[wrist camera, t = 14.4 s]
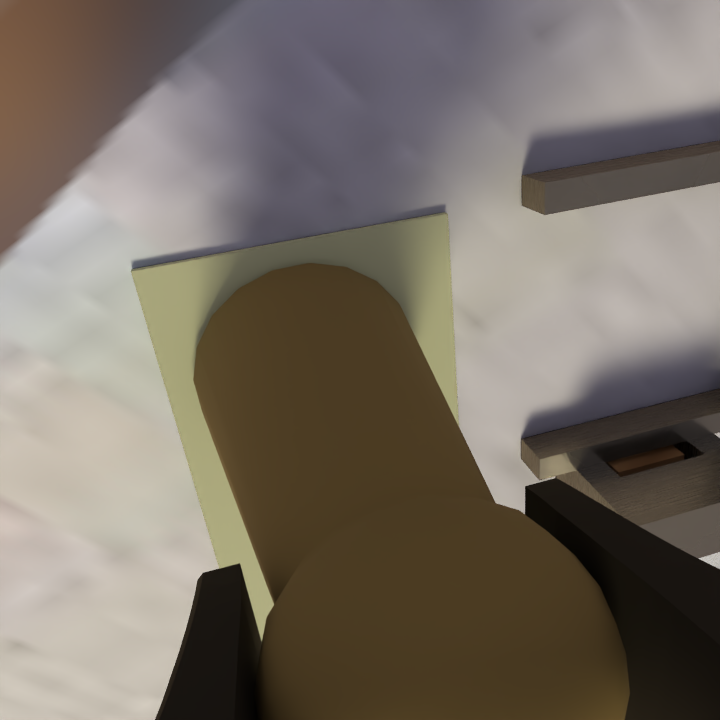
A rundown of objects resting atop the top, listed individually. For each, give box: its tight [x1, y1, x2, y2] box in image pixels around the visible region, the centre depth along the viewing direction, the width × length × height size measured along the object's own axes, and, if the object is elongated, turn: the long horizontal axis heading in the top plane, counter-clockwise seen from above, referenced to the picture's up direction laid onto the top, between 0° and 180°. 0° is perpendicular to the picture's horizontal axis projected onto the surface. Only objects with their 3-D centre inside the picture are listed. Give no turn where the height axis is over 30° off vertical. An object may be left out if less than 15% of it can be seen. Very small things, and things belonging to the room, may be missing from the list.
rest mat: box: [131, 212, 459, 641], centre depth 19 cm, size 8×14×1 cm, turn 7°
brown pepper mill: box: [193, 263, 630, 720], centre depth 12 cm, size 6×6×11 cm
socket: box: [521, 141, 720, 558], centre depth 19 cm, size 8×15×4 cm, turn 7°
